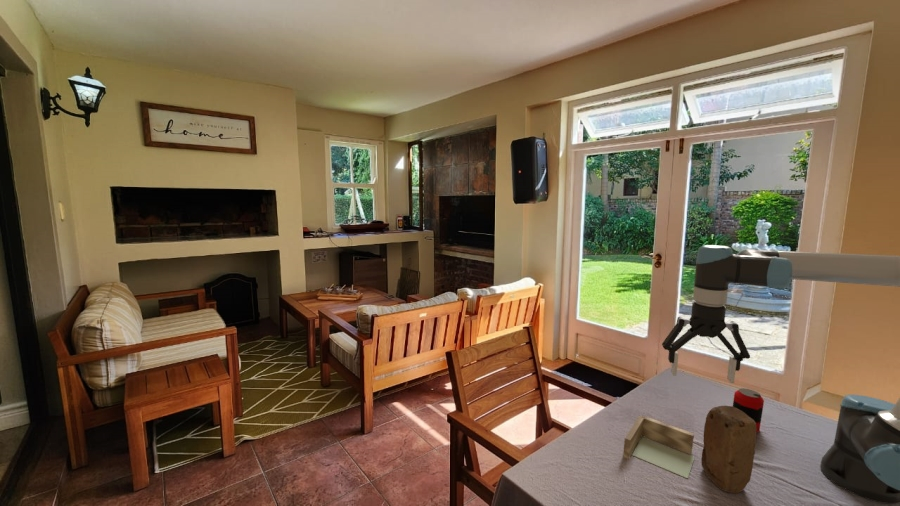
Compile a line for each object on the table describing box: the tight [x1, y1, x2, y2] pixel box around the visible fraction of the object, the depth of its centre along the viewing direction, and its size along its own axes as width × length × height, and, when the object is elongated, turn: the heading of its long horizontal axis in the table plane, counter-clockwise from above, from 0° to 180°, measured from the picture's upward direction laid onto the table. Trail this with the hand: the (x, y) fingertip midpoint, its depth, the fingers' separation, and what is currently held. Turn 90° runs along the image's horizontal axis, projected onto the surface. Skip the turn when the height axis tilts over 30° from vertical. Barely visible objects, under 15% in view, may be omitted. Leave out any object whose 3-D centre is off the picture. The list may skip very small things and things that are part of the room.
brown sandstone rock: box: [700, 405, 757, 494], centre depth 101 cm, size 11×8×20 cm
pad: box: [631, 436, 695, 479], centre depth 111 cm, size 14×11×1 cm
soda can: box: [732, 387, 765, 434], centre depth 125 cm, size 8×8×12 cm
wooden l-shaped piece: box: [622, 415, 695, 460], centre depth 111 cm, size 15×16×6 cm
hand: (701, 377), depth 106 cm, fingers open, 13 cm apart
